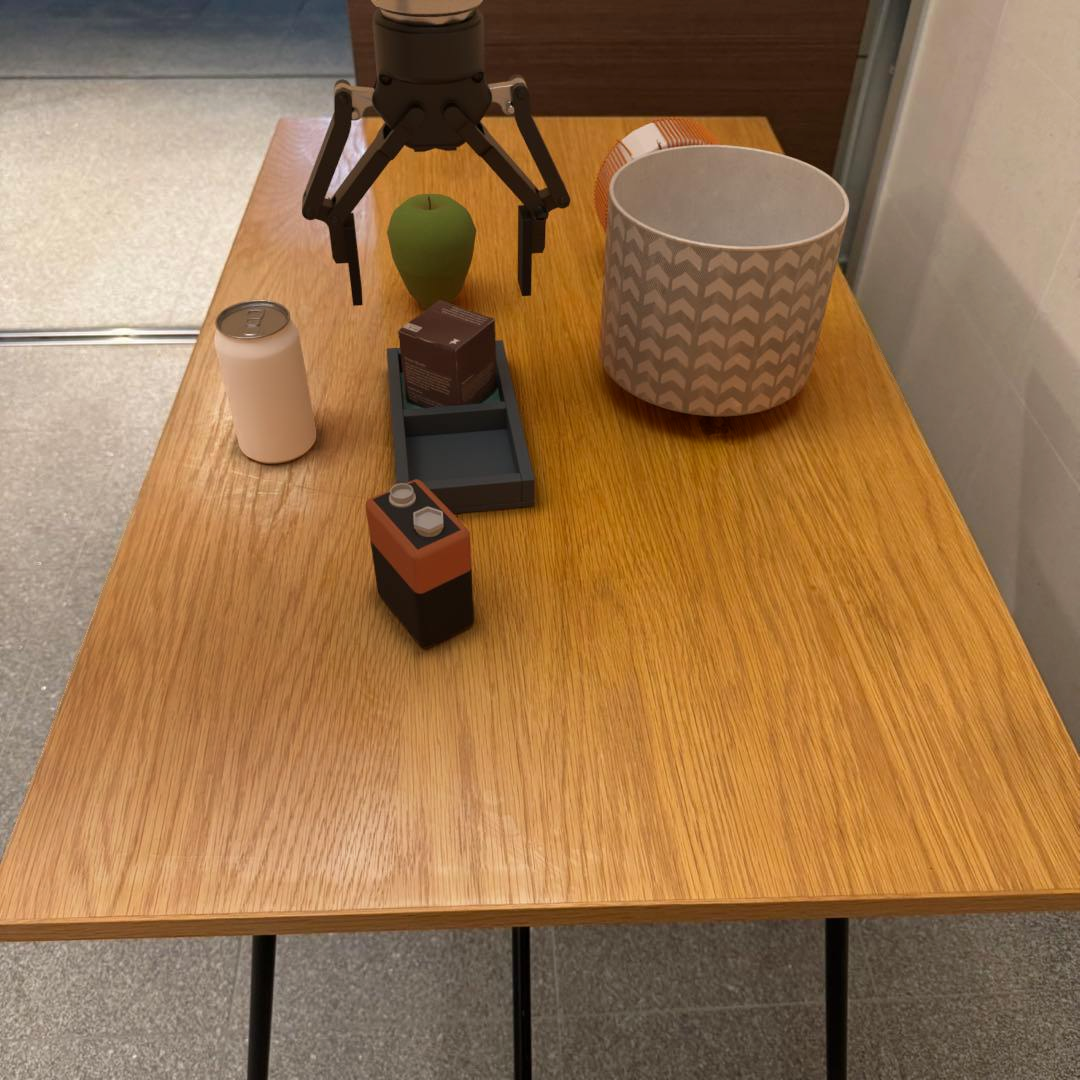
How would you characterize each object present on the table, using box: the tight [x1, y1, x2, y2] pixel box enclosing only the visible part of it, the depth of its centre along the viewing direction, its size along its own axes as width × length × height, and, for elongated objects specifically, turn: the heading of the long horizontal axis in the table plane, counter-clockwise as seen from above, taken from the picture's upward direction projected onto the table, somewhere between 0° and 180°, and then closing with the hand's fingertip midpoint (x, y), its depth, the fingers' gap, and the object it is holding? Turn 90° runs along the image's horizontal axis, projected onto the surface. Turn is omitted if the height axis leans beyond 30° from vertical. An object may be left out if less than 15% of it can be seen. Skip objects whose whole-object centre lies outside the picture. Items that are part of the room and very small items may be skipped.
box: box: [397, 300, 497, 408], centre depth 86 cm, size 6×6×7 cm
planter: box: [598, 144, 850, 417], centre depth 86 cm, size 19×19×18 cm
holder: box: [386, 339, 536, 515], centre depth 85 cm, size 11×20×3 cm, turn 9°
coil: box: [593, 116, 723, 234], centre depth 103 cm, size 7×15×15 cm, turn 100°
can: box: [213, 299, 317, 465], centre depth 81 cm, size 6×6×12 cm
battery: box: [364, 479, 475, 649], centre depth 67 cm, size 4×7×10 cm, turn 36°
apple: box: [386, 193, 477, 311], centre depth 98 cm, size 9×8×12 cm
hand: (441, 293), depth 81 cm, fingers open, 13 cm apart
